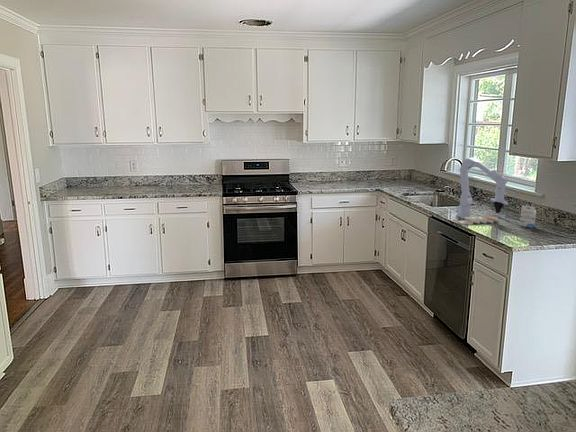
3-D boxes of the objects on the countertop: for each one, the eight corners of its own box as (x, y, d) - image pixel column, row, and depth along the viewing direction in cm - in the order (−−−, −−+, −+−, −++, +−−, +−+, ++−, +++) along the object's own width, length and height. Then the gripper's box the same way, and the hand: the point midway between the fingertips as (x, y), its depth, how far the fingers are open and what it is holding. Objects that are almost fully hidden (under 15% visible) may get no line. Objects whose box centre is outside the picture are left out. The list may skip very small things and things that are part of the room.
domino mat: (463, 221, 305) (463, 220, 305) (499, 219, 310) (499, 219, 310) (473, 225, 293) (473, 224, 293) (510, 223, 298) (510, 223, 298)
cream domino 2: (474, 222, 300) (464, 218, 298) (475, 220, 300) (465, 216, 298) (479, 223, 296) (468, 220, 294) (480, 221, 295) (469, 217, 293)
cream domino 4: (488, 221, 302) (477, 218, 300) (489, 219, 302) (478, 216, 300) (492, 223, 297) (482, 219, 295) (493, 221, 297) (482, 217, 295)
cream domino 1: (469, 222, 300) (457, 223, 298) (469, 220, 299) (457, 221, 298) (473, 224, 295) (461, 225, 294) (473, 221, 294) (461, 222, 293)
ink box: (534, 227, 290) (537, 206, 287) (532, 228, 287) (535, 207, 283) (520, 224, 296) (523, 204, 293) (518, 226, 292) (521, 205, 289)
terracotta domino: (495, 221, 303) (483, 217, 303) (496, 219, 303) (484, 215, 303) (498, 222, 298) (486, 218, 298) (499, 220, 298) (487, 216, 298)
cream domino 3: (481, 221, 301) (471, 218, 299) (482, 219, 301) (472, 216, 299) (486, 223, 296) (475, 220, 294) (487, 221, 296) (476, 217, 294)
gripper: (487, 192, 301) (485, 210, 305) (503, 195, 288) (500, 215, 291) (495, 191, 303) (493, 210, 306) (511, 195, 290) (509, 214, 293)
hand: (497, 212), depth 299 cm, fingers closed
